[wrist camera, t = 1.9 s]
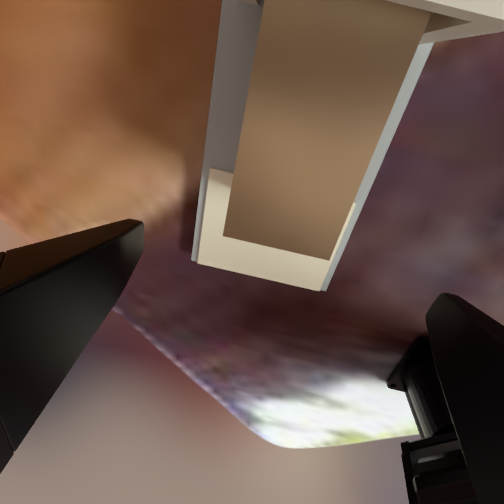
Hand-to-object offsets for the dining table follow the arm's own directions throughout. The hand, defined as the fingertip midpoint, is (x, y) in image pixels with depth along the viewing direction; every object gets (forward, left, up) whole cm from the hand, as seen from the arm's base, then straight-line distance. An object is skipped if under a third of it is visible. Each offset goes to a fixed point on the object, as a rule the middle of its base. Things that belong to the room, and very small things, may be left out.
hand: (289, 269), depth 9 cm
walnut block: (+5, 0, -10) cm, 11 cm away
